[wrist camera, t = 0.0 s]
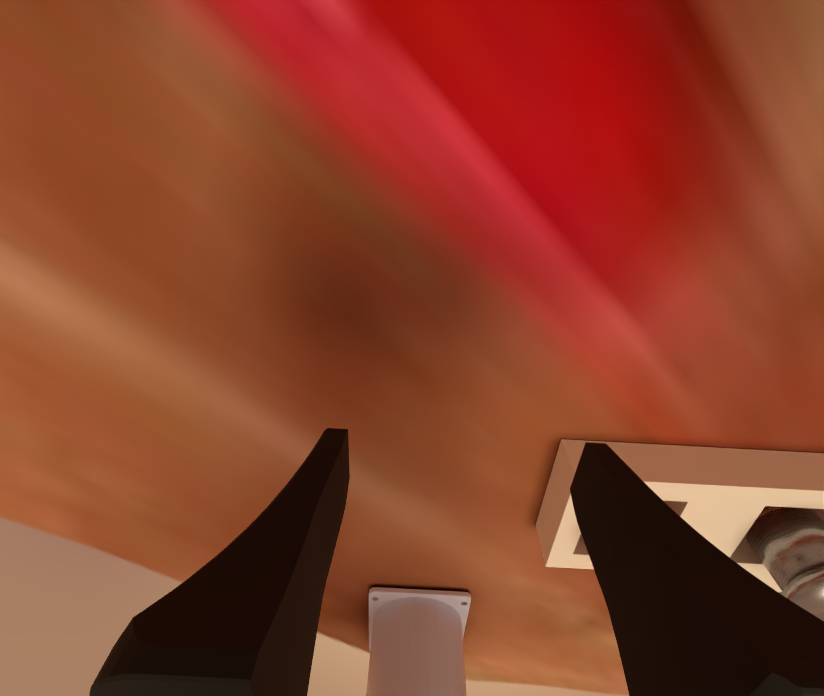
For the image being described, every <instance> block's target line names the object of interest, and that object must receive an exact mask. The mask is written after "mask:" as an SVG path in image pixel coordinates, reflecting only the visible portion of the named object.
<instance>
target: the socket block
mask: <svg viewBox="0 0 824 696" xmlns="http://www.w3.org/2000/svg"><path fill="white" fill-rule="evenodd" d="M586 442H589V443H606V444H607V445H608V446H609V447H610V448H611V449H612V450H613V451H614V452H615V453H616V454H617V455H618V456H619V457H620V458H621V459H622V460H623V461H624V462H625V463H626V464H627V465H628V466H629V467H630V468H631V469H632V470H633V471H634V472H635V473H636V474H637V475H638V476H639V477H640V479H641V480H642V481H643V482H644V483H645V484H646V485H647V486H648V487H649V488H650V489H652V490H653V491H654V492H655V493H656V494H657V495H658V496H659V497H660V498H661V499H662V500H663V501H664V502H665V503H666V504H667V505H668V506H669V507H670V508H671V509H672V510H673V511H675V512H676V513H677V514H678V515H679V516H680V517H681V518H682V519H684V520H685V521H686V522H687V523H688V524H689V525H690V526H691V527H692V528H694V529H695V530H696V531H697V532H698V533H699V534H701V535H702V536H703V537H704V538H705V539H707V540H708V541H709V542H710V543H712V544H713V545H714V546H715V547H717V548H718V549H719V550H721V551H722V552H723V553H724V554H726V555H727V556H728V557H729V558H731V559H732V560H733V561H735V562H736V563H737V564H739V565H740V566H741V567H743V568H744V569H745V570H747V571H748V572H750V573H751V574H753V575H754V576H755V577H757V578H758V579H760V580H761V581H762V582H764V583H765V584H767V585H768V586H770V587H771V588H772V589H774V590H775V591H777V592H778V593H780V594H781V595H782V590H781V589H780V587H779V586H778V585H777V583H776V582H775V580H774V579H773V578H772V576H771V575H770V573H769V572H768V570H767V569H766V568H765V566H764V565H763V563H762V562H761V560H760V559H759V558H758V556H757V555H756V553H755V552H754V551H753V549H752V548H751V546H750V545H749V543H748V542H747V540H746V533H747V532H748V530H749V529H750V528H751V526H752V525H753V523H754V522H755V520H756V519H757V517H758V516H759V515H760V513H761V512H762V510H763V509H764V507H765V506H776V507H794V508H809V509H811V510H813V511H815V512H816V513H817V514H818V515H819V516H820V517H821V519H822V520H823V521H824V453H809V452H790V451H771V450H753V449H734V448H716V447H697V446H678V445H660V444H641V443H623V442H604V441H585V440H567V439H561V442H560V445H559V448H558V452H557V455H556V458H555V462H554V465H553V468H552V472H551V475H550V478H549V482H548V485H547V488H546V492H545V495H544V498H543V502H542V505H541V508H540V512H539V515H538V519H537V522H536V525H535V526H536V530H537V534H538V538H539V542H540V546H541V550H542V554H543V558H544V562H545V566H546V567H562V568H581V569H594V568H593V565H592V562H591V559H590V557H589V554H588V551H587V549H586V546H585V543H584V540H583V537H582V535H581V532H580V529H579V526H578V523H577V520H576V516H575V511H574V507H573V503H572V498H571V493H570V487H571V484H572V481H573V478H574V475H575V472H576V469H577V466H578V463H579V460H580V457H581V454H582V452H583V449H584V446H585V443H586Z"/></svg>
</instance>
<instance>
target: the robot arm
mask: <svg viewBox="0 0 824 696" xmlns="http://www.w3.org/2000/svg"><path fill="white" fill-rule="evenodd" d="M348 484H349V448H348V429H333V428H327V429H326V430H325V431H324V432H323V434H322V436H321V437H320V439H319V440H318V442H317V444H316V445H315V447H314V448H313V450H312V451H311V453H310V454H309V456H308V457H307V458H306V460H305V461H304V463H303V464H302V465H301V467H300V468H299V469H298V471H297V472H296V473H295V475H294V476H293V477H292V478H291V480H290V481H289V482H288V484H287V485H286V486H285V487H284V488H283V489H282V491H281V492H280V493H279V494H278V495H277V497H276V498H275V499H274V500H273V501H272V502H271V504H270V505H269V506H268V507H267V508H266V509H265V510H264V511H263V512H262V513H261V514H260V515H259V516H258V518H257V519H256V520H255V521H254V522H253V523H252V524H251V525H250V526H249V527H248V528H247V529H246V530H245V531H243V532H242V533H241V534H240V535H239V536H238V537H237V538H236V539H235V540H234V541H233V542H232V543H230V544H229V545H228V546H227V547H226V548H225V549H224V550H223V551H222V552H220V553H219V554H218V555H217V556H216V557H215V558H213V559H212V560H211V561H210V562H208V563H207V564H206V565H205V566H203V567H202V568H201V569H200V570H198V571H197V572H196V573H195V574H193V575H192V576H191V577H190V578H188V579H187V580H186V581H185V582H183V583H182V584H181V585H179V586H178V587H177V588H175V589H174V590H173V591H171V592H169V593H168V594H167V595H165V596H164V597H162V598H161V599H159V600H158V601H157V602H155V603H154V604H152V605H151V606H149V607H148V608H147V609H145V610H144V611H143V612H141V613H139V614H138V615H136V616H135V617H133V618H132V620H131V622H130V623H129V625H128V626H127V627H126V629H125V631H124V632H123V633H122V635H121V636H120V638H119V639H118V641H117V642H116V644H115V645H114V647H113V649H112V650H111V652H110V654H109V656H108V657H107V659H106V661H105V663H104V665H103V667H102V669H101V670H100V672H99V674H98V676H97V678H96V679H95V681H94V683H93V685H92V686H91V690H90V694H89V695H90V696H307V692H308V685H309V678H310V671H311V665H312V659H313V653H314V646H315V640H316V634H317V628H318V622H319V616H320V610H321V604H322V598H323V593H324V589H325V584H326V580H327V576H328V572H329V568H330V564H331V561H332V557H333V553H334V549H335V545H336V541H337V538H338V534H339V530H340V526H341V522H342V518H343V514H344V510H345V505H346V498H347V491H348ZM570 493H571V498H572V503H573V507H574V511H575V516H576V520H577V523H578V526H579V529H580V532H581V535H582V537H583V540H584V543H585V546H586V549H587V551H588V554H589V557H590V559H591V562H592V565H593V568H594V570H595V573H596V576H597V579H598V581H599V584H600V587H601V589H602V592H603V595H604V598H605V601H606V604H607V607H608V610H609V614H610V618H611V621H612V625H613V629H614V633H615V637H616V640H617V644H618V648H619V652H620V657H621V661H622V665H623V669H624V673H625V678H626V682H627V686H628V691H629V696H824V621H822V620H821V619H819V618H818V617H816V616H814V615H813V614H811V613H810V612H808V611H806V610H805V609H803V608H802V607H800V606H798V605H797V604H795V603H794V602H792V601H791V600H789V599H788V598H786V597H785V596H783V595H781V594H780V593H778V592H777V591H775V590H774V589H772V588H771V587H770V586H768V585H767V584H765V583H764V582H762V581H761V580H760V579H758V578H757V577H755V576H754V575H753V574H751V573H750V572H748V571H747V570H745V569H744V568H743V567H741V566H740V565H739V564H737V563H736V562H735V561H733V560H732V559H731V558H729V557H728V556H727V555H726V554H724V553H723V552H722V551H721V550H719V549H718V548H717V547H715V546H714V545H713V544H712V543H710V542H709V541H708V540H707V539H705V538H704V537H703V536H702V535H701V534H699V533H698V532H697V531H696V530H695V529H694V528H692V527H691V526H690V525H689V524H688V523H687V522H686V521H685V520H684V519H682V518H681V517H680V516H679V515H678V514H677V513H676V512H675V511H673V510H672V509H671V508H670V507H669V506H668V505H667V504H666V503H665V502H664V501H663V500H662V499H661V498H660V497H659V496H658V495H657V494H656V493H655V492H654V491H653V490H652V489H650V488H649V487H648V486H647V485H646V484H645V483H644V482H643V481H642V480H641V479H640V477H639V476H638V475H637V474H636V473H635V472H634V471H633V470H632V469H631V468H630V467H629V466H628V465H627V464H626V463H625V462H624V461H623V460H622V459H621V458H620V457H619V456H618V455H617V454H616V453H615V452H614V451H613V450H612V449H611V448H610V447H609V446H608V445H607V444H606V443H589V442H586V443H585V446H584V449H583V452H582V454H581V457H580V460H579V463H578V466H577V469H576V472H575V475H574V478H573V481H572V484H571V487H570ZM470 603H471V595H470V594H469V593H468V592H459V591H440V590H421V589H402V588H383V587H373V588H371V589H370V590H369V650H370V662H369V672H368V684H367V693H366V696H466V682H465V667H464V652H463V636H464V631H465V626H466V622H467V617H468V612H469V607H470Z"/></svg>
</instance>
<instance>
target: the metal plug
mask: <svg viewBox="0 0 824 696" xmlns="http://www.w3.org/2000/svg"><path fill="white" fill-rule="evenodd" d="M746 540H747V542H748V543H749V545H750V546H751V548H752V549H753V551H754V552H755V553H756V555H757V556H758V558H759V559H760V560H761V562H762V563H763V565H764V566H765V568H766V569H767V570H768V572H769V573H770V575H771V576H772V578H773V579H774V580H775V582H776V583H777V585H778V586H779V587H780V589H781V590H782V595H783V596H785V597H786V598H788V599H789V600H791V601H792V602H794V603H795V604H797V605H798V606H800V607H802V608H803V609H805V610H806V611H808V612H810V613H811V614H813V615H814V616H816V617H818V618H819V619H821V620H822V621H824V521H823V520H822V519H821V517H820V516H819V515H818V514H817V513H816V512H815V511H813V510H811V509H809V508H794V507H786V508H781V509H777V510H774V511H771V512H769V513H767V514H765V515H763V516H761V517H759V518H758V519H757V520H755V522H754V523H753V525H752V526H751V528H750V529H749V530H748V532H747V533H746Z"/></svg>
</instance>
